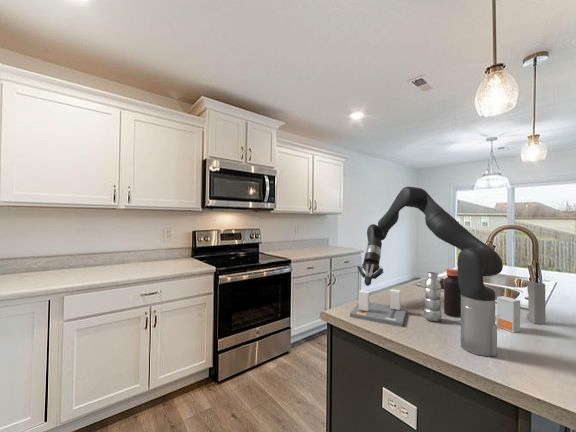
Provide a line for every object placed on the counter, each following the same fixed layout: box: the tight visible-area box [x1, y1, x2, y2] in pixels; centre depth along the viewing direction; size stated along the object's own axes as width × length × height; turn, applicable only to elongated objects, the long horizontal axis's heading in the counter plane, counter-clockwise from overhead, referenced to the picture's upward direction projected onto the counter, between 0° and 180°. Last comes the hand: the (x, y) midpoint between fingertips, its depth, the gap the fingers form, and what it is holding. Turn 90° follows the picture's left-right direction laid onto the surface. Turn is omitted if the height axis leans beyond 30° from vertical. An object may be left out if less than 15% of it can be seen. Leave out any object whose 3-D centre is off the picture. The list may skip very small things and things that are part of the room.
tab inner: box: [389, 288, 401, 310], centre depth 120 cm, size 4×3×8 cm
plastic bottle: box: [423, 271, 443, 322], centre depth 111 cm, size 6×7×20 cm
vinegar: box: [443, 268, 461, 318], centre depth 117 cm, size 7×7×20 cm
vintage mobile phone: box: [526, 262, 546, 326], centre depth 110 cm, size 4×5×25 cm
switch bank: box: [349, 301, 408, 328], centre depth 117 cm, size 21×20×2 cm
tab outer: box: [358, 290, 370, 311], centre depth 118 cm, size 4×3×8 cm
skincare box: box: [496, 295, 521, 334], centre depth 103 cm, size 6×4×12 cm
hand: (367, 284), depth 124 cm, fingers closed
